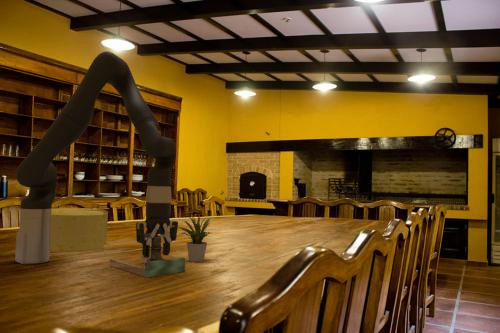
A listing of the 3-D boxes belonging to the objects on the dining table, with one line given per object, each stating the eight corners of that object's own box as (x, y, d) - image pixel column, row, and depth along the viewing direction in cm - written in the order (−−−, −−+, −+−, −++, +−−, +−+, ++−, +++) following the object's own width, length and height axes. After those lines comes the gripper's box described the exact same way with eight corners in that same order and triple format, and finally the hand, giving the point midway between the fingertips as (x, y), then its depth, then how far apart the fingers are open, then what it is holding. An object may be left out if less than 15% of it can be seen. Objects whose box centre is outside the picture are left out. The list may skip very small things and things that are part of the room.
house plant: (194, 255, 159) (195, 211, 159) (224, 259, 151) (226, 213, 152) (168, 260, 146) (170, 213, 147) (200, 265, 139) (202, 215, 140)
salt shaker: (162, 274, 125) (164, 233, 126) (143, 273, 125) (144, 233, 126) (167, 270, 131) (168, 231, 131) (148, 269, 131) (149, 230, 132)
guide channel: (147, 277, 119) (148, 263, 120) (109, 265, 134) (110, 253, 134) (184, 271, 129) (185, 258, 129) (145, 261, 144) (145, 249, 144)
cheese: (122, 246, 175) (123, 210, 175) (65, 254, 153) (67, 213, 153) (82, 240, 189) (83, 207, 189) (24, 247, 167) (26, 209, 167)
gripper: (145, 202, 121) (142, 260, 121) (184, 201, 132) (182, 255, 131) (131, 200, 126) (128, 256, 126) (170, 200, 137) (168, 252, 136)
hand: (156, 255), depth 128 cm, fingers open, 6 cm apart
